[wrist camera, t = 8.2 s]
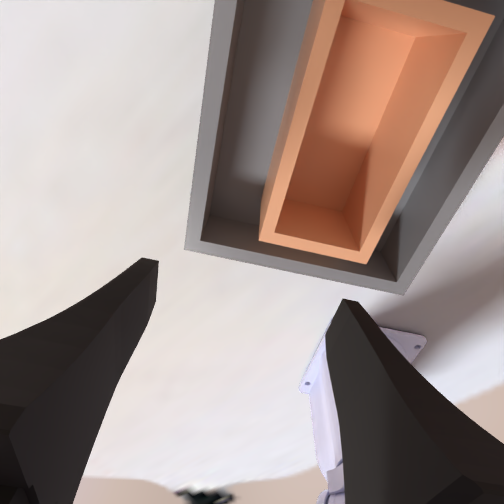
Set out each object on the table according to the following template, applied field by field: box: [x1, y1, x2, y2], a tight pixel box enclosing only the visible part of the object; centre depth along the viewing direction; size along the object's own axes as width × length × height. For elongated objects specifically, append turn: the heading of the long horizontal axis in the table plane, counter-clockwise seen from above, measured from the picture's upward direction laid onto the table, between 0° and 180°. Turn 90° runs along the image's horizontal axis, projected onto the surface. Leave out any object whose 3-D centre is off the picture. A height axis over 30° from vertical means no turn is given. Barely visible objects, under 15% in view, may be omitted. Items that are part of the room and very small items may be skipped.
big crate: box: [184, 0, 504, 295], centre depth 16 cm, size 15×13×4 cm
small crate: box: [259, 0, 495, 264], centre depth 15 cm, size 10×5×5 cm, turn 167°
